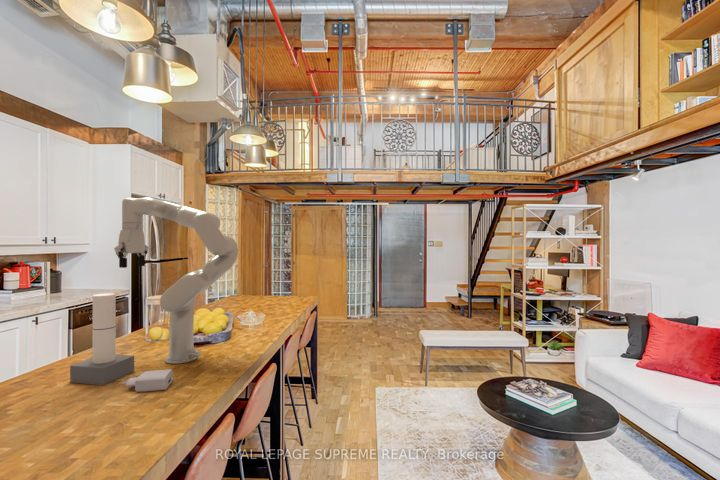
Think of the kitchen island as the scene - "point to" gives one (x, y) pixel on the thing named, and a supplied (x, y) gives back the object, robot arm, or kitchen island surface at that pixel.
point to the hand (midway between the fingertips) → (132, 266)
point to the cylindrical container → (104, 328)
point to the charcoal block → (101, 370)
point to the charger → (151, 380)
